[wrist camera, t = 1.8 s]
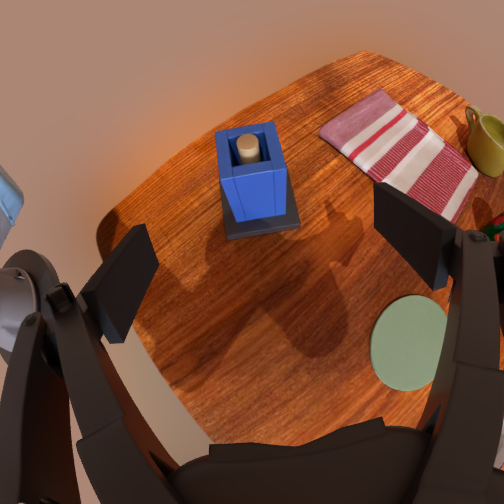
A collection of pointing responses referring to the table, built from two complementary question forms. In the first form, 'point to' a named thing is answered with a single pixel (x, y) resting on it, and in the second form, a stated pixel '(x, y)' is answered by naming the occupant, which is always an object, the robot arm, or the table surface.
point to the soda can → (494, 227)
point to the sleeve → (253, 173)
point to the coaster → (408, 342)
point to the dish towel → (403, 153)
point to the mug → (485, 141)
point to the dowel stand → (236, 230)
